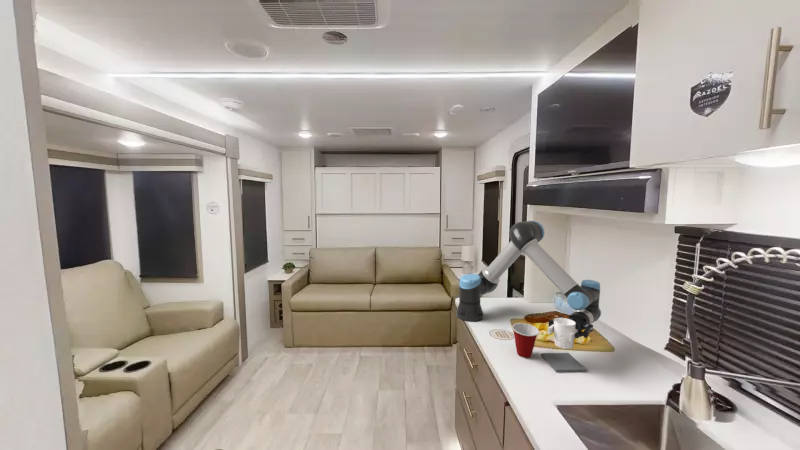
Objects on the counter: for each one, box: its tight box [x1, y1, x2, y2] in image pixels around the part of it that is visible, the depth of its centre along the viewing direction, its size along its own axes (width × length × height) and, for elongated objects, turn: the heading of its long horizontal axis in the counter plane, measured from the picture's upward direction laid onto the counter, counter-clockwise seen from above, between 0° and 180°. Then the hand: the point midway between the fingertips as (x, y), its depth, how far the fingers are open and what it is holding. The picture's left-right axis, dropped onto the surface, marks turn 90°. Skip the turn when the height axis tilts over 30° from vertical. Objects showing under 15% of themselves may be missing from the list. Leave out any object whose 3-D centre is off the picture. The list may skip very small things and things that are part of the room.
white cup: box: [553, 317, 576, 350], centre depth 127 cm, size 8×8×10 cm
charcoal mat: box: [540, 352, 588, 373], centre depth 128 cm, size 13×12×1 cm
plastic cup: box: [511, 322, 540, 359], centre depth 134 cm, size 11×11×12 cm
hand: (559, 334), depth 124 cm, fingers closed on white cup, 8 cm apart
